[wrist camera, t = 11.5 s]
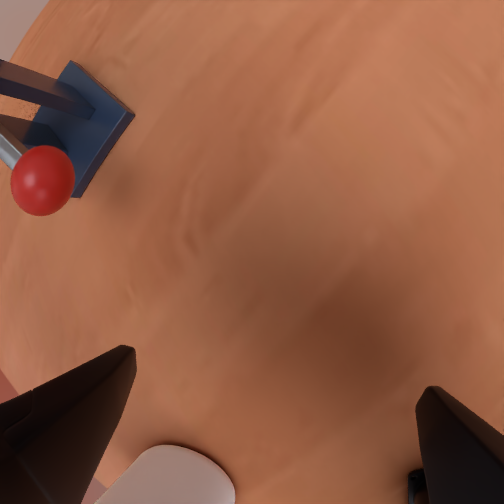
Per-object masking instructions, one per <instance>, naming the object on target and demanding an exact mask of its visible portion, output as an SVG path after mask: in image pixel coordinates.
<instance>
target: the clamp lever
mask: <svg viewBox="0 0 504 504" xmlns="http://www.w3.org/2000/svg"><path fill="white" fill-rule="evenodd" d="M0 158H1V160H2V161H3V162H4V163H5V164H6V165H7V166H8V167H9V168H10V169H11V170H12V175H11V191H12V195H13V198H14V200H15V202H16V203H17V205H18V206H19V207H20V208H21V209H22V210H24V211H25V212H27V213H29V214H31V215H35V216H46V215H50V214H53V213H55V212H56V211H58V210H60V209H61V208H62V207H63V206H64V205H65V204H66V203H67V201H68V200H69V198H70V196H71V194H72V192H73V189H74V184H75V172H74V167H73V165H72V162H71V160H70V159H69V157H68V156H67V155H66V154H65V153H64V152H63V151H62V150H60V149H58V148H56V147H53V146H49V145H41V146H37V147H34V148H32V149H30V150H28V149H27V148H26V147H25V146H24V145H23V144H22V143H21V142H20V141H19V140H18V139H17V138H16V137H15V136H14V135H13V134H12V133H10V132H9V131H8V130H7V129H6V128H5V127H4V126H3V125H2V124H1V123H0Z"/></svg>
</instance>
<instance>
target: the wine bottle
mask: <svg viewBox="0 0 504 504" xmlns="http://www.w3.org/2000/svg"><path fill="white" fill-rule="evenodd" d="M234 503H235V490H234V486H233V484H232V482H231V480H230V478H229V477H228V476H227V474H226V473H225V472H224V471H223V470H222V469H221V468H220V467H219V466H218V465H217V464H215V463H214V462H213V461H211V460H210V459H208V458H207V457H205V456H203V455H201V454H199V453H197V452H195V451H193V450H190V449H187V448H184V447H180V446H174V445H159V446H154V447H152V448H149V449H147V450H146V451H144V452H143V453H142V454H140V455H139V457H138V458H137V459H136V460H135V461H134V462H133V463H132V464H131V465H130V466H129V467H128V468H127V469H126V471H125V472H124V473H123V474H122V475H121V476H120V477H119V478H118V479H117V480H116V481H115V482H114V483H113V484H112V485H111V486H110V487H109V488H108V489H107V491H106V492H105V493H104V494H103V495H102V496H101V497H100V498H99V499H98V500H97V501H96V502H95V503H94V504H234Z"/></svg>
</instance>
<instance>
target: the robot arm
mask: <svg viewBox="0 0 504 504" xmlns="http://www.w3.org/2000/svg"><path fill="white" fill-rule="evenodd" d="M136 372H137V366H136V352H135V349H134V348H133V347H130V346H126V345H119V346H117V347H115V348H114V349H112V350H110V351H108V352H106V353H104V354H102V355H100V356H98V357H96V358H94V359H92V360H90V361H88V362H86V363H84V364H82V365H80V366H78V367H76V368H74V369H72V370H70V371H68V372H66V373H64V374H62V375H60V376H58V377H56V378H54V379H52V380H50V381H48V382H46V383H44V384H42V385H40V386H38V387H36V388H34V389H33V391H32V390H30V391H28V392H26V393H24V394H22V395H20V396H17V397H15V398H13V399H11V400H9V401H6V402H4V403H1V404H0V504H81V502H82V500H83V497H84V495H85V493H86V491H87V488H88V486H89V484H90V482H91V480H92V478H93V475H94V473H95V471H96V469H97V467H98V465H99V463H100V460H101V458H102V456H103V454H104V452H105V450H106V448H107V446H108V444H109V441H110V439H111V437H112V435H113V433H114V431H115V429H116V427H117V425H118V423H119V421H120V418H121V416H122V413H123V411H124V408H125V405H126V402H127V399H128V396H129V393H130V390H131V388H132V385H133V382H134V379H135V376H136ZM415 412H416V420H417V428H418V437H419V446H420V452H421V457H422V462H423V467H424V468H423V469H419V470H416V471H412V472H410V473H409V474H408V476H407V478H408V504H504V435H502V434H501V433H500V432H498V431H497V430H496V429H494V428H493V427H492V426H491V425H489V424H488V423H487V422H485V421H484V420H483V419H481V418H480V417H479V416H477V415H476V414H475V413H474V412H472V411H471V410H470V409H468V408H467V407H466V406H464V405H463V404H462V403H461V402H459V401H458V400H457V399H455V398H454V397H453V396H451V395H450V394H449V393H447V392H446V391H445V390H443V389H442V388H441V387H439V386H428V387H427V388H426V389H425V391H424V392H423V394H422V396H421V397H420V399H419V401H418V402H417V405H416V409H415ZM413 476H414V477H413Z"/></svg>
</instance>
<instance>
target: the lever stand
mask: <svg viewBox="0 0 504 504" xmlns="http://www.w3.org/2000/svg"><path fill="white" fill-rule="evenodd" d="M0 94H2V95H6V96H10V97H13V98H17V99H21V100H24V101H28V102H32V103H35V104H39V105H41V106H40V108H39V110H38V112H37V113H36V115H35V117H34V119H33V121H29V120H25V119H20V118H16V117H11V116H7V115H2V114H0V123H1V124H2V125H3V126H4V127H5V128H6V129H7V130H8V131H9V132H10V133H12V134H13V135H14V136H15V137H16V138H17V139H18V140H19V141H20V142H21V143H22V144H23V145H24V146H25V147H26V148H27V149H28V150H30V149H32V148H34V147H37V146H41V145H49V146H53V147H56V148H58V149H60V150H62V151H63V152H64V153H65V154H66V155H67V156H68V157H69V159H70V160H71V162H72V165H73V167H74V172H75V184H74V189H73V192H72V194H71V196H70V197H73V198H80V197H81V195H82V194H83V192H84V190H85V189H86V187H87V185H88V184H89V182H90V181H91V179H92V177H93V176H94V174H95V173H96V171H97V169H98V168H99V166H100V165H101V163H102V162H103V160H104V159H105V157H106V156H107V154H108V153H109V151H110V150H111V148H112V147H113V145H114V144H115V143H116V141H117V140H118V138H119V137H120V135H121V134H122V133H123V131H124V130H125V129H126V127H127V126H128V124H129V123H130V122H131V120H132V119H133V118H134V116H135V114H134V113H133V112H131V111H130V110H129V109H128V108H127V107H126V106H125V105H124V104H123V103H122V102H120V101H119V100H118V99H117V98H116V97H115V96H114V95H113V94H112V93H110V92H109V91H108V90H107V89H106V88H105V87H104V86H103V85H102V84H100V83H99V82H98V81H97V80H96V79H95V78H94V77H93V76H92V75H90V74H89V73H88V72H87V71H86V70H85V69H84V68H83V67H81V66H80V65H79V64H78V63H76V62H74V61H71V60H70V61H69V63H68V64H67V66H66V67H65V69H64V70H63V72H62V73H61V75H60V76H59V78H58V79H57V80H56V79H54V78H51V77H48V76H46V75H43V74H40V73H38V72H35V71H32V70H30V69H27V68H24V67H21V66H18V65H15V64H13V63H10V62H7V61H4V60H1V59H0Z"/></svg>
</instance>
